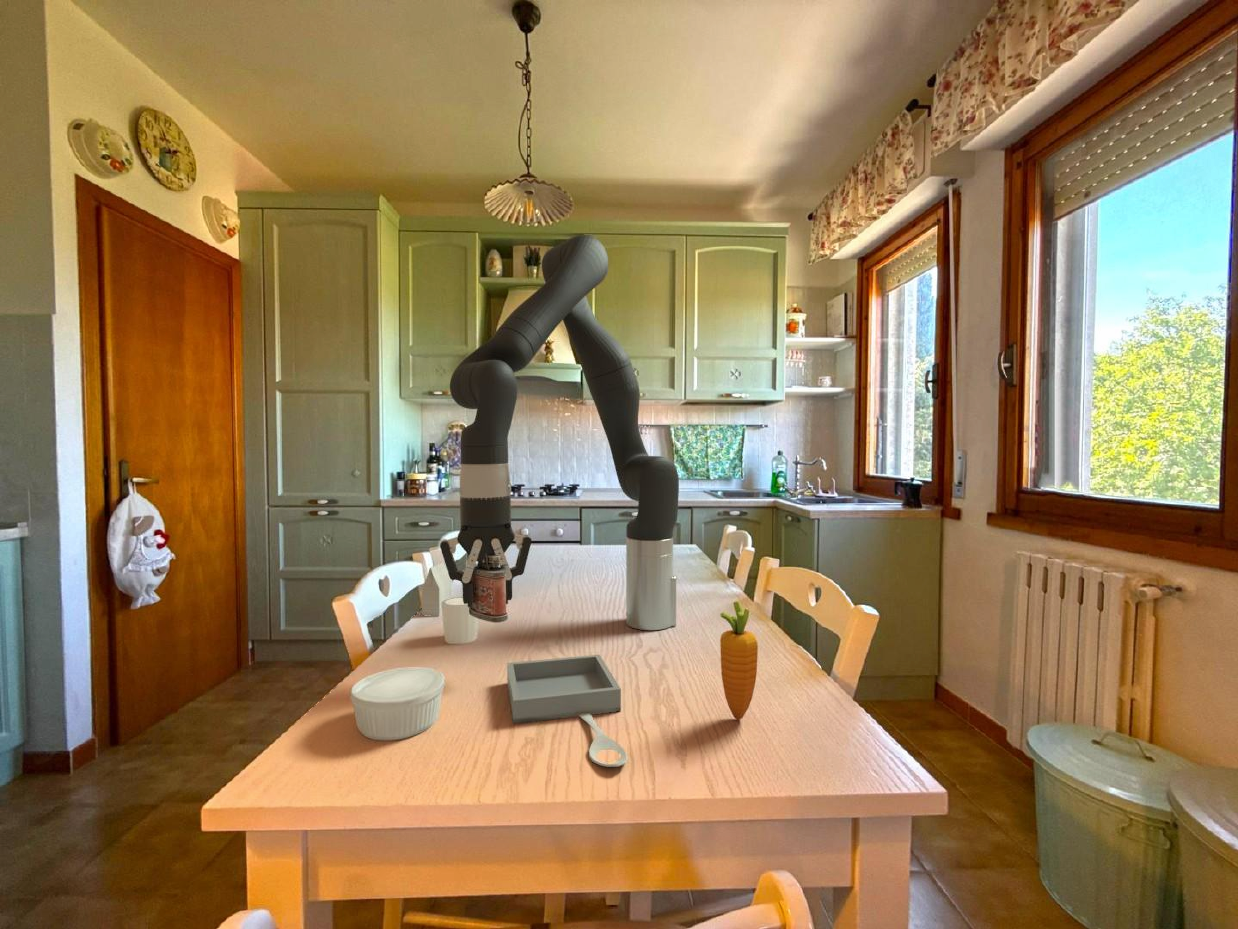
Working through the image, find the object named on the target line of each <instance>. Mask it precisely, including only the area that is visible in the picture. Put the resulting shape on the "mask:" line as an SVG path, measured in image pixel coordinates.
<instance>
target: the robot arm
mask: <svg viewBox="0 0 1238 929" xmlns="http://www.w3.org/2000/svg"><path fill="white" fill-rule="evenodd" d="M608 271H609V256H608V252H607V251H606V248H605V246H604V245H603V244H602V243H601V241H600V240H599V239H597V238H596V237H594V236H593V235H589V234H579V235H575V236H573V237H570V238H568V239H567V240H565V241H563V242H561V243H558V244H557V245H555V246H553V247H552V248H551V249H549V250H547V251H546V252H545V253H544V255H543V257H542V260H541V272H542V276H543V280H544V284H543V285H542V286H540V288H538V289H537V290H536V291H535V292H534V293H533V294H531V295H530V296H529V297H528V298H527V299H525V300H523V302H522V303H520V305H518V306H517V307H516V308H515V309H514V310H513V311H512V312H511V313H510V314H509V316H507V318H506V319H505V320H504V321H503V323H502V324H501V325H500V326H499V328H498V329H497V330H496V331H495V332H494V334H493V335H492V337H490V338H489V339H488V340H487V341H485V343H483V344H481V345H480V346H479V347H478V348H476V349H475V350H474V351H473V352H471V353H470V354H468V356H467V357H465V358H464V359H463V360H462V361H461V362H460V363H459V364H458V365H457V366H456V368H455V369H454V371H453V373H452V375H451V378H450V382H449V391H450V396H451V397H452V399H453V401H454V402H455V404H457V405H458V406H459V407H462V408H463V409H469V410H476V412H475V418H474V421H473V422H472V423H471V424H469V425H467V426H465V427H464V428H463V429H462V431H461V433H460V472H459V488H458V491H459V492H458V493H459V512H460V513H459V514H460V516H459V518H460V523H459V524H460V530H459V532H458V534H457V536H455V537H453V538H448V539H446V538H444V539H442V540H441V541H440V544H439V548H440V551H441V555H442V558H443V562H444V565H445V568H446V570H447V572H448V574H449V577H450V579H451V580H452V581H459V582H460V583H461V585H462V597H463V602H464V604H468V607H472V580H471V576H472V573H473V570H474V567H475V564H477V562H478V561H483V560H484V559H485V554H487V555H496V556H500V562H499V567H500V568H501V569H506V570H507V575H506V605H509V601H512V598H513V580H514V578H515V577H518V576H523V574H525V573H524V572H525V569H526V564H527V560H528V557H529V555H530V554H529V553H530V549H531V544H532V539H531V536H530V535H528V534H524V535H521V534H518V533H515V532H514V530H513V529H512V503H511V500H512V499H511V498H512V494H511V492H512V486H511V475H510V474H511V473H510V469H509V467H510V466H509V441H508V438H509V437H508V436H509V432H510V430H511V425H512V421H513V418H514V412H515V408H516V404H517V398H518V382H517V377H516V374H515V373H517V372H519V371H522V370H523V369H525V368H526V367H527V366H528V365H529V364H530V362H531V361H532V360H533V359H534V357H535V356H536V354H538V352H539V351H540V349H541V348H542V347H543V346H544V344H545V343H546V341H547V340H548V338H550V336H551V334H553V333H554V332H555V330H556V329H557V327H558V326H559V325H560V323H561V322H563V324H564V326H565V328H566V331H567V332H568V335H569V336H568V337H569V338H570V342H571V343H572V346H573V348H574V351H575V354H576V356H577V358H578V360H579V363H580V366H581V370H582V372H583V373H582V374H583V376H584V379H585V382H586V384H587V388H588V390H589V393H590V396H591V398H592V401H593V403H594V405H595V407H596V411H597V414H598V416H599V420H600V423H601V424H602V425H601V426H602V428H603V431H604V434H605V435H606V439H607V442H608V445H609V448H610V453H611V456H612V459H613V460H612V461H613V465H614V468H615V473H616V477H617V480H618V484H619V486H620V489H621V491H622V492H623V493H624V494H625V496H626V497H628V498H629V499H631V500H633V501H636V502H638V505H637V514H636V516H635V518H634V519H632V520H630V521H629V522H628V523H627V524H626V528H625V529H626V534H625V535H626V537H625V539H626V540H625V541H626V542H625V544H626V547H625V549H626V550H625V551H626V554H625V555H626V562H625V564H626V568H625V570H626V573H625V575H626V576H625V578H626V579H625V583H626V585H625V586H626V588H625V589H626V590H625V591H626V592H625V594H626V596H625V597H626V598H625V599H626V600H625V601H626V602H625V604H626V606H625V607H626V608H625V618H626V619H625V623H626V625H627V626H628V627H630V628H633V629H637V630H641V631H658V630H660V631H661V630H664V629H668V628H671V627H675V626H677V577H676V576H675V575H674V529H675V527H676V524H677V520H678V514H679V512H678V510H679V492H680V491H679V490H680V484H679V483H680V481H679V473H678V469H677V467H676V464H675V463H674V462H673V461H672V460H671V459H669V458H667V457H665V456H659V455H658V456H657V455H649V454H648V452H647V449H646V447H645V444H644V441H643V439H642V436H641V432H640V428H639V410H640V398H641V397H640V394H641V393H640V386H639V382H638V378H637V376H636V373H635V370H634V369H635V368H634V367H633V364H632V361H631V359H630V356H629V355H628V354H629V353H627V350H626V349H625V348H624V347H623V346H622V345H621V344H620V343H619V341H618V340H616V338H615V337H614V335H612V334H611V333H610V332H608V331H607V329H606V328H604V326H602V325H601V323H600V322H599V321H598V319H597V318H596V316H595V314H594V313H593V310H592V307H591V305H590V302H589V301H588V297H587V295H588V294H589V293H591V292H593V291H592V290H594V289H595V288H597V287H598V286H599V285H600V284H601V283H602V282H603V281H604V280H605V278H606V276H607V274H608ZM513 542H515V546H516V548H517V550H518V554H517V558H516V560H515V561H516V563H515V565H514V566H512V567H510V565H509V563H508V560H507V558H506V555H505V554H506V552H507V550H508V549H509V548H510V546H511V544H512V543H513ZM458 544H459V545H460V546H461V547H462V549H463V550H464V551H465V553H466V554H467V555H468V556H467V559H466V561H465V566H464V568H463V570H459V569H458V566H457V564H456V561H455V558H454V553H455V552H456V551H457V545H458Z"/></svg>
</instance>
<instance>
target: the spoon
mask: <svg viewBox="0 0 1238 929" xmlns="http://www.w3.org/2000/svg"><path fill="white" fill-rule="evenodd" d="M578 717H579V718H581V720H583V721H584V722H585V723H587V724H588V725H589V727H590V728H591V729H592V730H593V731H594V733H595V736H594V738H593V741H592V743H591V744H590V747H589V750H588V755H589V756H588V757H589V758H590V760H591V762H593V763H595V764H597V765H599V766H603V767H607V768H608V767H610V768H611V767H620V766H622V765H624V764H626V763H627V761H628V755H627V753H626V751H625V749H624V747H622V746H621V744H619V743H618V742H617V741H615V740H614V739H613V738H610V737H609V736H608V735H607V734H606V733H604V731H602V729H601V728H600V727H599V726H598V725H597V723H596V721H595V720H594V718H593V715H591V713H584V714H580V715H579V716H578ZM601 750H614V751H617V753H618V754H621V757H620V759H618V761H617V762H615V763H613V764H607V763H603V762H600V761H598V759H597V758H596V756H595V755H596V754H599V752H600V751H601Z"/></svg>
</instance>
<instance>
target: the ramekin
mask: <svg viewBox="0 0 1238 929" xmlns="http://www.w3.org/2000/svg"><path fill="white" fill-rule="evenodd" d="M445 683H446V678H445V676H444V675H443V674H442V672H440V671H438V670H436V669H433V668H429V667H423V666H420V667H419V666H410V667H409V666H408V667H400V668H399V667H398V668H392V669H387V670H383V671H379V672H377V673H376V672H375V673H373V674H370V675H368V676H366V677H363V678H362V679H360V680H358V681H357V682H355V684H353V685H352V687H351V689H350V701H351V703H352V704H353V710H354V716H355V722H356V726H357V729H358V731H360V733H361V734H362V735H363V736H364V737H366V738H368V739H371V740H375V741H385V742H386V741H397V740H403V739H407V738H410V737H411V738H412V737H413V736H416V735H418V734H421V733H423V732H425V731H426V730H428V729H429V728H431V726H432V725H433V724H435V721H437V719H438V717H439V716H440V711H441V704H442V696H443V690H444V688H445V685H446V684H445Z"/></svg>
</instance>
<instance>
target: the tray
mask: <svg viewBox="0 0 1238 929" xmlns="http://www.w3.org/2000/svg"><path fill="white" fill-rule="evenodd" d="M506 666H507V668H506V671H507V674H506V675H507V676H506V677H507V678H506V680H507V690H508V697H509V701H510V702H509V703H510V710H511V716H512V724H513V725H517V724H525V723H526V724H528V723H533V722H534V723H536V722H542V721H543V722H544V721H551V720H553V721H554V720H559V719H558V718H561V719H569V718H570V719H571V718H577V717H579V715H580V714H584V713H591V715H592V716H593V715H594V714H595V715H602V713H604V714H610V713H609V712H612V713H617V712H616V711H621V710H622V708H621V707H622V705H621V704H622V700H621V699H622V698H621V696H622V692H621V691H622V690H621V689H622V688H621V687H620V685H619V684H618V682H617V681H616V679H615V678H614V676H613V674H612V672H611V671H610V669H609V667H608V666H607V664H606V663H605V661H604V659H603V658H602V656H601V654H591V655H581V656H580V655H579V656H569V657H559V658H549V659H547V658H545V659H535V660H527V661H526V660H525V661H523V660H522V661H515V662H514V661H513V662H507V664H506ZM595 715H594V716H595Z"/></svg>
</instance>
